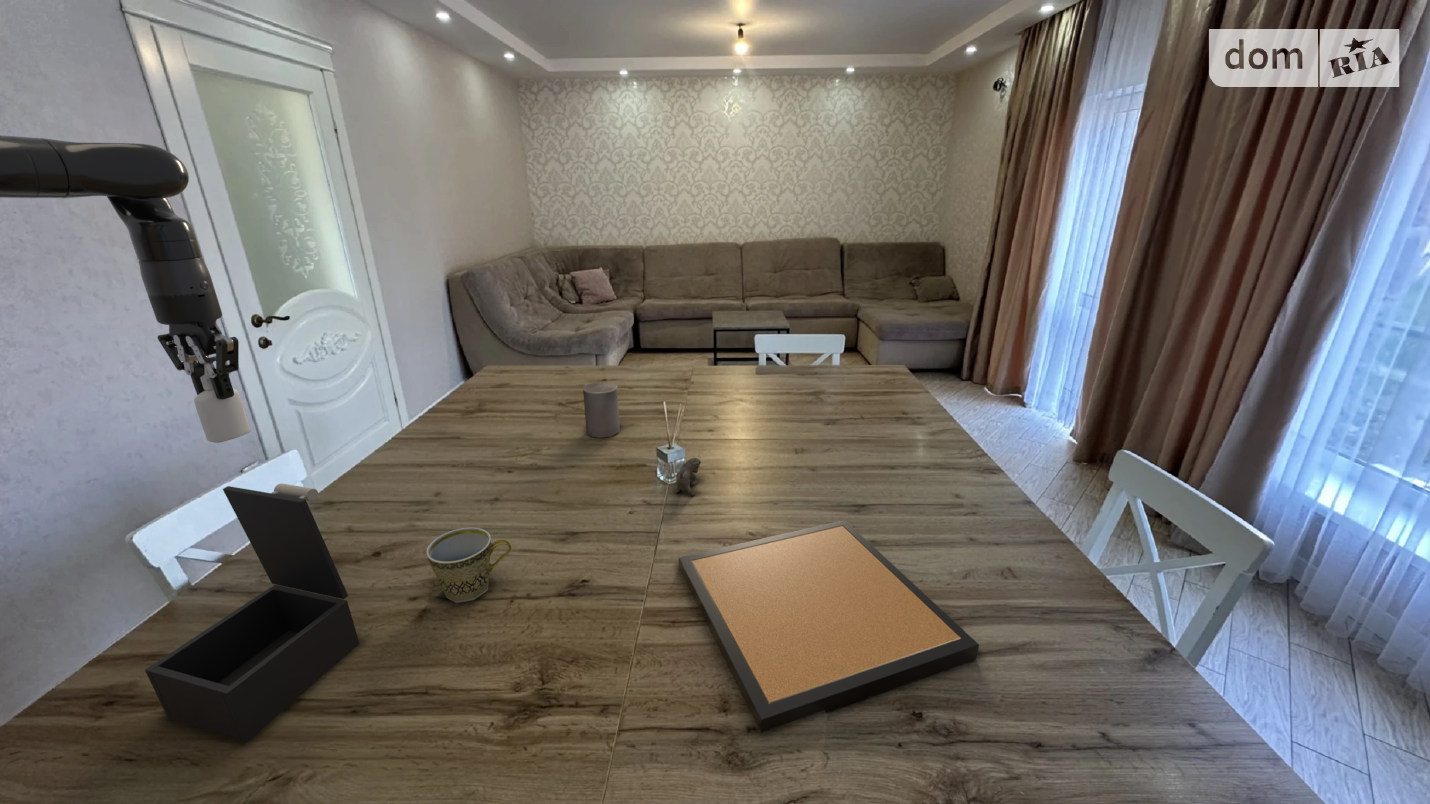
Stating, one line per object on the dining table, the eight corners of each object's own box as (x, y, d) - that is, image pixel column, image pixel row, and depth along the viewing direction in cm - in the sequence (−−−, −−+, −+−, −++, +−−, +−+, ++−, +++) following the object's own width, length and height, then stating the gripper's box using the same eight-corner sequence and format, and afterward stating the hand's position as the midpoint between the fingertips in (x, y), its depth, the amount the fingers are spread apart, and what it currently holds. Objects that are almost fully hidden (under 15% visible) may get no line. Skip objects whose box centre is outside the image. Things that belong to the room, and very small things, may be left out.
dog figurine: (694, 501, 124) (694, 472, 121) (670, 498, 125) (669, 469, 123) (706, 476, 135) (706, 449, 132) (684, 474, 136) (683, 447, 133)
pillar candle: (585, 427, 164) (580, 379, 158) (618, 423, 166) (614, 376, 161) (588, 440, 155) (583, 390, 150) (622, 435, 158) (619, 386, 153)
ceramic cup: (431, 617, 90) (420, 567, 87) (442, 579, 99) (432, 531, 96) (515, 603, 93) (507, 553, 90) (518, 567, 102) (511, 520, 99)
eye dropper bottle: (207, 437, 91) (183, 368, 87) (250, 428, 95) (229, 361, 91) (207, 445, 88) (183, 374, 84) (252, 436, 92) (230, 367, 88)
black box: (249, 746, 69) (226, 693, 66) (169, 721, 72) (144, 669, 69) (360, 646, 84) (347, 600, 81) (290, 629, 88) (274, 584, 85)
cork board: (843, 531, 113) (678, 570, 101) (844, 519, 112) (678, 557, 100) (975, 659, 82) (760, 736, 70) (979, 644, 81) (761, 720, 69)
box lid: (300, 502, 73) (333, 480, 77) (222, 489, 76) (258, 468, 81) (344, 599, 81) (372, 574, 85) (271, 583, 84) (302, 560, 88)
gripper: (117, 291, 81) (157, 400, 87) (188, 295, 78) (225, 408, 84) (175, 284, 88) (209, 386, 94) (242, 287, 85) (273, 393, 91)
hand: (216, 396), depth 89 cm, fingers closed on eye dropper bottle, 3 cm apart
